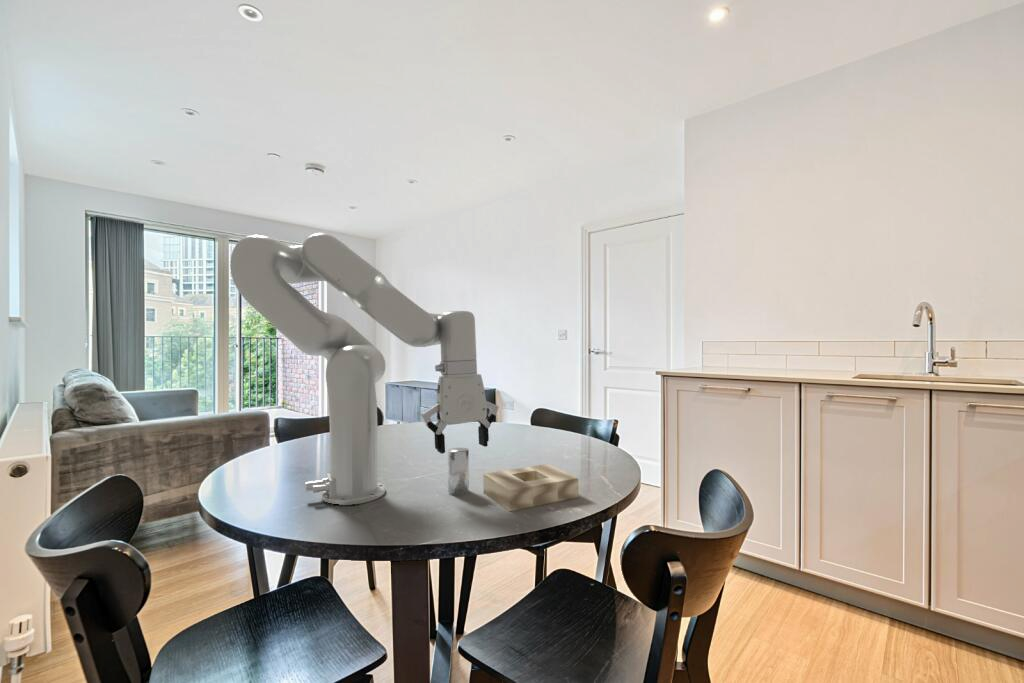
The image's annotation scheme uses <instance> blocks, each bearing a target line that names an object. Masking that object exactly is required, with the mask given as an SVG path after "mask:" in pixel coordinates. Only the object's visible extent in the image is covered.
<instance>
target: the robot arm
mask: <svg viewBox="0 0 1024 683" xmlns="http://www.w3.org/2000/svg"><path fill="white" fill-rule="evenodd" d="M229 264H230V274H231V278H232V281H233V284H234V285H235V288H236V289H237V290H238V293H239V294H240V296H242V298H243V299H244V300H245V301H246V303H248V304H249V305H250V306H251V307H252V308H253V309H254V310H256V312H258V313H259V314H260V315H261V316H262V317H263V318H264V319H266V320H267V321H268V322H269V323H270V324H271V325H272V326H273V327H274V328H275V329H276V330H277V331H279V333H281V334H282V335H283V336H284V337H285V338H286V339H288V340H289V342H291V344H293V345H294V346H295V347H296V348H297V349H299V351H301V352H302V353H303V354H306V355H309V356H313V357H315V356H316V357H317V356H318V357H319V356H322V357H323V358H325V359H326V360H327V364H326V367H325V381H326V388H327V395H328V396H327V397H328V411H329V416H328V418H329V419H328V421H329V422H328V423H329V473H326V477H322V478H321V479H320V480H309V481H305V484H304V485H305V486H304V488H305V492H312V493H313V494H314V493H320V492H321V500H322V499H323V500H324V501H325V502H324V501H323V500H322V501H323V502H324V503H326V502H328V503H332V504H331V505H333V504H339V505H338V506H353V504H354V505H360V504H365V503H369V502H373V501H375V500H377V499H380V498H381V497H383V496H384V495H385V493H386V486H385V485H384V484H383V483H382V482H379V481H378V480H379V476H378V470H379V469H378V404H377V403H378V402H377V392H376V390H377V389H376V383H378V382H379V381H380V380H382V378H383V376H384V374H385V372H386V368H387V367H386V360H385V356H384V355H383V354H382V352H381V351H380V350H379V349H378V348H377V347H376V346H375V345H374V344H373V343H372V342H371V341H369V340H368V339H367V338H366V337H365V336H364V335H363V334H362V333H360V332H359V331H358V330H357V329H356V328H355V327H353V325H351V324H350V323H349V322H348V321H347V320H345V319H344V318H342V317H341V316H339V315H337V314H333V313H331V312H330V313H329V312H325V311H322V310H321V309H319V308H318V307H316V306H315V305H314V304H313V303H311V301H309V300H308V299H307V298H306V297H305V296H304V295H303V294H302V293H301V292H300V291H299V290H298V289H296V288H295V287H293V286H292V285H291V284H298V283H299V284H300V283H313V282H314V283H315V282H325V283H326V282H327V284H329V285H330V286H332V287H333V288H334V289H336V291H338V292H340V293H341V294H342V295H343V296H344V297H346V298H347V299H349V301H351V302H352V303H354V304H355V305H356V306H357V307H358V308H359V309H360V310H361V311H364V312H365V313H366V314H367V315H368V316H370V317H371V318H372V319H373V320H375V321H376V322H377V323H378V324H380V326H382V327H383V328H385V329H386V330H387V331H388V332H390V333H391V334H392V335H394V336H395V337H396V338H397V339H399V340H400V341H402V342H403V343H404V344H406V345H408V346H411V347H414V348H426V347H431V346H436V345H440V360H441V361H440V362H439V364H435V366H434V369H435V372H440V374H441V376H439V377H438V382H437V388H436V389H437V390H436V402H435V403H436V404H434V405H433V406H431V407H430V408H428V409H426V410H425V411H423V412H422V413H421V414H420V417H421V419H422V421H423V423H424V424H425V426H426V427H427V429H429V430H431V432H432V433H433V434H434V448H435V449H436V450H437V452H438V453H440V454H445V453H446V443H445V442H446V440H445V439H446V438H445V434H444V433H443V431H444V430H445V429H446V427H447V425H449V426H451V425H452V426H453V425H461V424H468V423H475V422H476V423H479V426H478V428H477V430H478V445H480V446H483V447H488V445H489V444H488V443H489V441H490V440H489V439H490V437H489V436H490V435H489V428H490V427H491V424H492V423H493V422H494V420H495V419H496V415H497V413H498V411H499V408H500V407H499V406H498V405H497V404H495V403H492V402H490V401H488V400H486V399H487V398H486V391H485V386H484V382H483V377H482V374H481V373H478V366H477V364H478V362H477V361H478V360H477V338H476V318H475V315H474V313H473V312H471V311H467V310H452V311H445V312H443V313H430V312H428V311H426V310H425V309H423V308H422V307H421V306H419V305H418V304H416V303H415V302H414V301H413V300H411V299H410V298H409V297H408V296H406V295H405V294H403V293H402V292H401V291H400V290H399V289H397V288H396V287H395V286H394V285H393V284H392V283H391V282H390V281H389V280H388V279H387V277H386V276H385V275H384V274H383V273H382V272H381V271H380V270H378V269H377V268H376V267H375V266H373V265H371V264H370V263H369V262H368V261H366V260H365V259H364V258H363V257H361V256H360V255H358V254H357V253H356V252H354V251H353V250H352V249H351V248H350V247H349V246H348V245H346V244H345V243H344V242H342V241H341V240H339V239H338V238H336V237H335V236H333V235H331V234H328V233H325V232H317V233H313V234H311V235H309V236H308V237H306V238H305V240H304V241H303V243H302V245H294V246H293V245H290V246H289V245H288V244H285V243H284V242H281V241H280V240H277V239H275V238H272V237H270V236H266V235H260V234H259V235H258V234H253V235H248V236H245V237H243V238H241V239H239V241H237V243H236V244H235V246H234V247H233V250H232V253H231V255H230V263H229ZM488 409H489V412H488V411H487V410H488ZM435 414H436V423H435V424H434V422H433V421H432V419H431V417H432V416H433V415H435ZM328 503H327V504H328Z"/></svg>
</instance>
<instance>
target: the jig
mask: <svg viewBox="0 0 1024 683" xmlns="http://www.w3.org/2000/svg"><path fill="white" fill-rule="evenodd" d="M482 476H483V494H485V495H486V496H488V497H489V498H490V499H492V500H493V502H496V503H497V504H499V506H501V507H503V508H504V509H506V510H507V511H508V512H513V511H519V510H523V509H528V508H533V507H537V506H543V505H549V504H553V503H558V502H561V501H563V502H564V501H568V500H573V499H577V498H579V477H577V476H575V475H573V474H570V473H569V472H566V471H564V470H562V469H559V468H557V467H555V466H553V465H550V464H548V463H546V464H539V465H532V466H527V467H518V468H514V469H512V468H511V469H505V470H501V471H493V472H487V473H483V475H482Z"/></svg>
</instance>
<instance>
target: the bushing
mask: <svg viewBox="0 0 1024 683" xmlns="http://www.w3.org/2000/svg"><path fill="white" fill-rule="evenodd" d="M469 452H470V450H469V448H467V447H452V448H449V449H447V489H448V490H447V492H448V494H449V495H451V496H465V495H467V494H469V493H470V461H469V460H470V454H469Z"/></svg>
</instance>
